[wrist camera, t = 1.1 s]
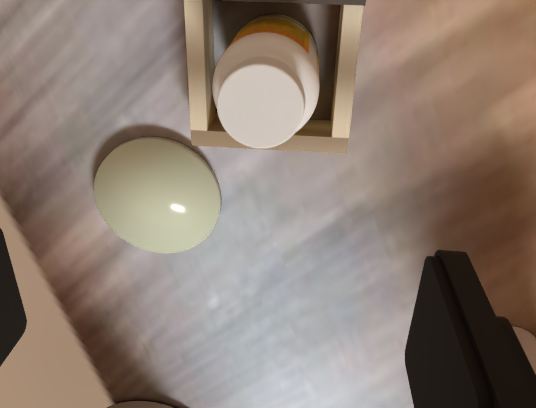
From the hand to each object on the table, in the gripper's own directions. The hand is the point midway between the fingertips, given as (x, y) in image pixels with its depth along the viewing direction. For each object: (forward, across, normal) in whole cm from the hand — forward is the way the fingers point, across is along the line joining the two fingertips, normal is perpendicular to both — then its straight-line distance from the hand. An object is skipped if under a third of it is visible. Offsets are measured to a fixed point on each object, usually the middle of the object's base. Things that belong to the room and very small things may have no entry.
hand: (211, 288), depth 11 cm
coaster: (+22, +8, +10) cm, 26 cm away
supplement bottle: (+23, 0, 0) cm, 23 cm away
